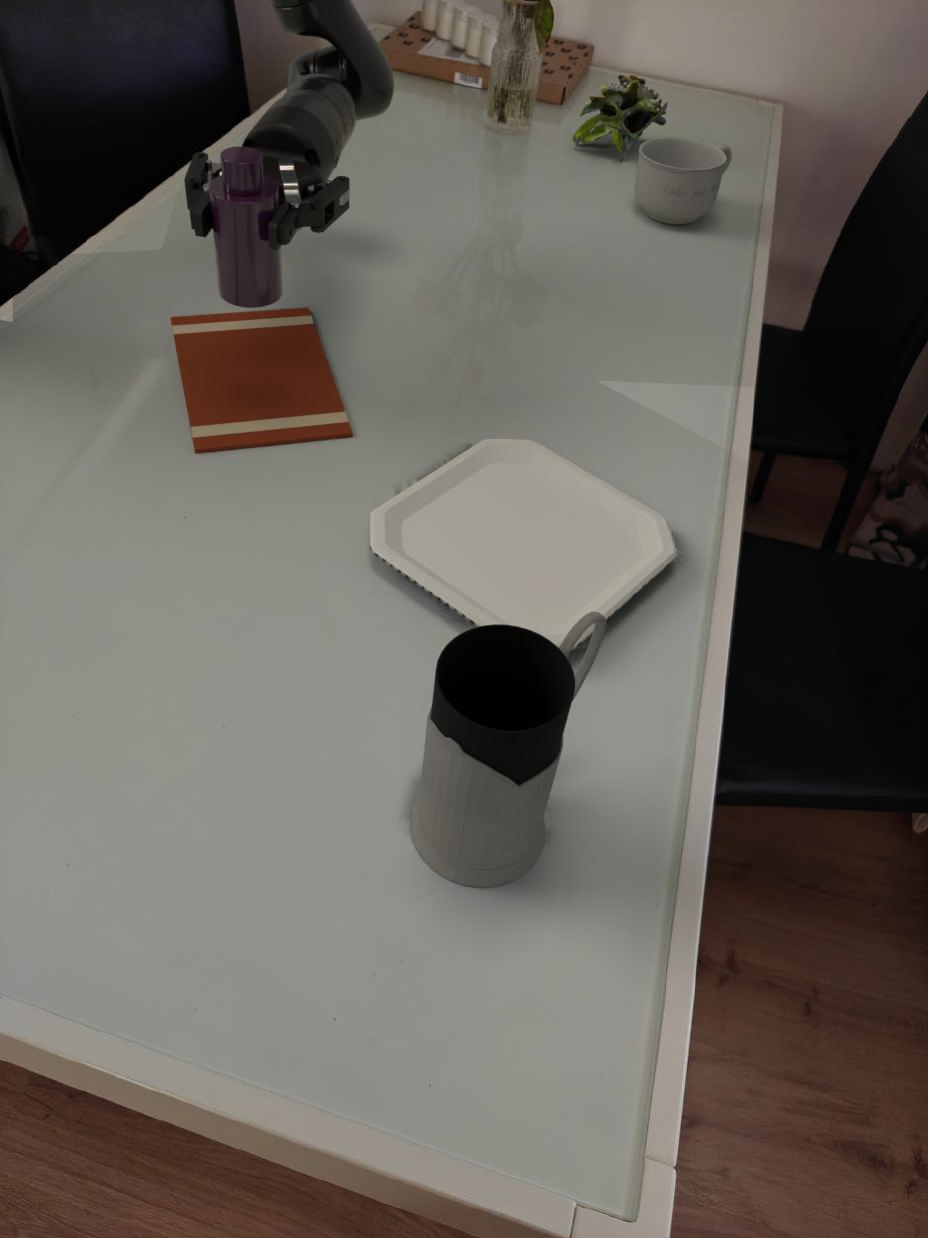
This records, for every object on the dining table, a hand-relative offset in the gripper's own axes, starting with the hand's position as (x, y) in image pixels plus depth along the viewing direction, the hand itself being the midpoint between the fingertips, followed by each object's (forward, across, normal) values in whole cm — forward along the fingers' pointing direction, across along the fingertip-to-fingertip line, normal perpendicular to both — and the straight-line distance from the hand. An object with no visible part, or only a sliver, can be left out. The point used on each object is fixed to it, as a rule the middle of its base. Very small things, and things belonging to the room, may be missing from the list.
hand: (236, 231), depth 78 cm
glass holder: (+36, +29, +17) cm, 49 cm away
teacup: (-57, +39, +18) cm, 71 cm away
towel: (-6, -1, +17) cm, 18 cm away
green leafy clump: (-74, +30, +18) cm, 82 cm away
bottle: (-3, 0, +6) cm, 7 cm away
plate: (+12, +27, +17) cm, 34 cm away
